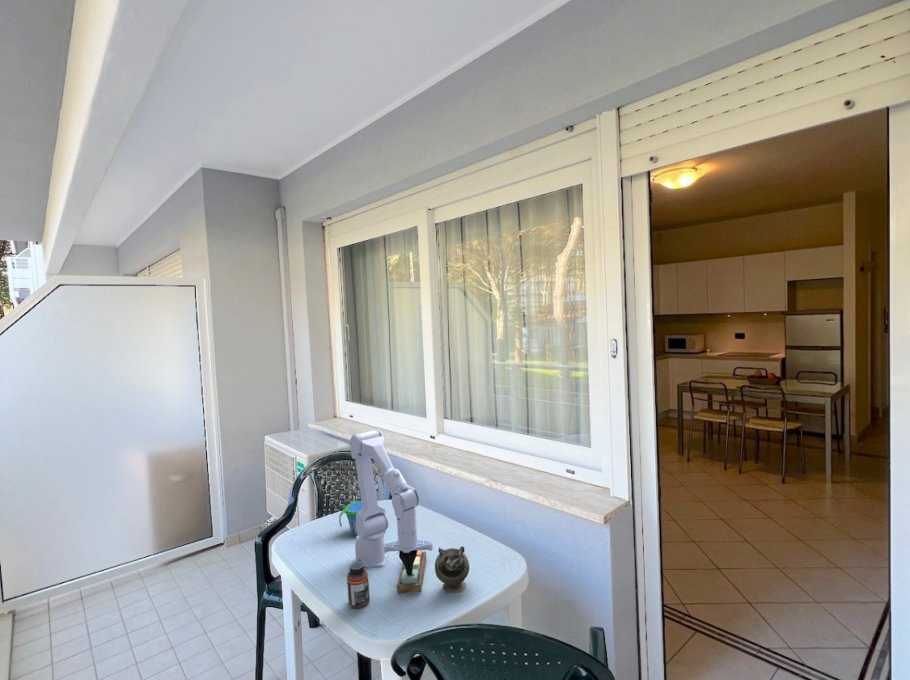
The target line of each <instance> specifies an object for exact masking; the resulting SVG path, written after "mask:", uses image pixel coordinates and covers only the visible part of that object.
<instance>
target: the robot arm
mask: <svg viewBox="0 0 910 680" xmlns="http://www.w3.org/2000/svg"><path fill="white" fill-rule="evenodd" d="M348 442H349V448H350V450H349V451H350V455H351V458H352V459H354V460H355V466H356V473H357V480H358V487H359V493H360V499H361V500H360V501H362V508H361V510H360V511H359V512H358V513H357V515H356V532H357V534H358V536H356V538H355V543H354V545H355V548H354V549H355V562H362V563H363V564H364V568H370V567H371V568H372V567H373V568H374V567H385V565H386V561H387V560H388V555H389V552H399V553H398V556H399V559H400V560H401V562H402V564H404V566H405V569H406V572H407V575H412V572H413V564H414V561H415V558H416V555H417V551H418V550H422V551H426V550H427V551H429V552H430V551H433V548H434V547H433V540H432V541H431V540H430V541H427V540H420V539H418V529H417V527H418V526H417V513H416V511H417V510H416V507H418V506H419V503H420V498H419V494H418V492H417V490H416V489H415V488H414V487H413V486H411V485H410V484H408V483H407V482H406V479H405V478H404V476H403V474H402V473H401V471H400V470H399V469H398V468H395V467H394V466H393V464H392V462H391V460H390V457H389V456H388V454H387V451H386V449H385V437H384V435H383V433H382V431H381V430H380V429H377V428H376V429H373V430H370V431H365V432H362V433H355V434H352V436H351V437H350V440H349V441H348ZM372 459H373V461H374V463H375V464H376V466H378V469H380V471H381V472H382V474H383V476H382V481H383V483H384V485H385V487H386V489H387V490H388V493H389V494H390V495H391V497H392V500H391V504H392V509H393V510H394V515H395V517H396V522H397V523H396V525H397V526H396V527H397V540H398V541H394V542H393V541H391V542H387V543H386V542H385V534H386V531H387V530H388V528H389V524H390V522H389V518H388V516H387V512H386V508H385V507H383V506H381V505H379V504H378V503H379V502H378V499H377V498H378V497H377V491H376V484H375V479H374V478H375V477H374V473H373V472H374V471H373V466H372V465H373V464H372Z"/></svg>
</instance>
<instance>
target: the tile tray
mask: <svg viewBox="0 0 910 680" xmlns="http://www.w3.org/2000/svg"><path fill="white" fill-rule="evenodd" d="M426 564H427V551H422V561H420V565H421V567H420V572H418V574H419V581H418V583H416V584H402V581H401V578H402V573H403V570H404V564H403V563H402V564H401V568H400V571H399V577H398V581H397V584H396V591H397V592H396V593H397V594H399V595H400V594H421V593H422V590H423V589H422V588H423V583H424V577H425V570H426Z"/></svg>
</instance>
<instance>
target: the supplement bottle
mask: <svg viewBox="0 0 910 680" xmlns="http://www.w3.org/2000/svg"><path fill="white" fill-rule="evenodd" d="M346 580H347V581H346V582H347V583H346V584H347V593H348V595H347V596H348V604H349V606H350V607H351V608H352V609H361V608H364V607H366V606H367V605H368V604H369V603H370V597H371V596H370V586H369V585H370V584H369V573H368V570H367V569H366V568H365V567H364V564H363V563H362V562H356V561H355V562H352V563H351V564H350V565H349V571H348V573H347V575H346Z"/></svg>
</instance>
